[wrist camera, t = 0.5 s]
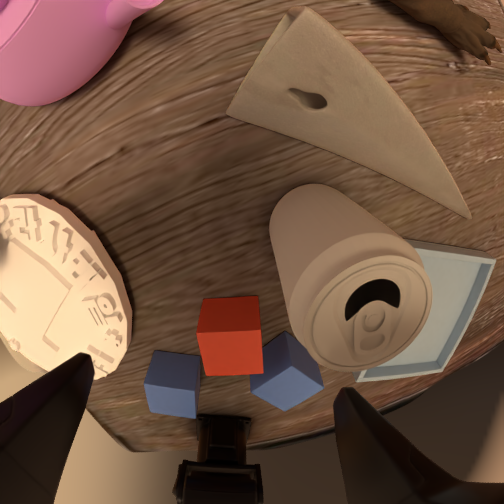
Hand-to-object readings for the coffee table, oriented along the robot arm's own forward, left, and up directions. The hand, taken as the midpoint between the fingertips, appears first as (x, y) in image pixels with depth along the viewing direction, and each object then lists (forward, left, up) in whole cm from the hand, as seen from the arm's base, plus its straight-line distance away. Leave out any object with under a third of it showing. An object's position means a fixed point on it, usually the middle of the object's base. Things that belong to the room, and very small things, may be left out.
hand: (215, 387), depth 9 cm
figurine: (+21, -20, -12) cm, 31 cm away
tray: (-6, -20, -14) cm, 25 cm away
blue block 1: (-14, +4, -14) cm, 20 cm away
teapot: (+17, +14, -14) cm, 26 cm away
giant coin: (-7, +18, -14) cm, 23 cm away
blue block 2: (-11, -6, -14) cm, 19 cm away
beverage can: (+2, -6, -14) cm, 15 cm away
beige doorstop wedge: (+11, -11, -14) cm, 21 cm away
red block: (-7, -1, -14) cm, 15 cm away
